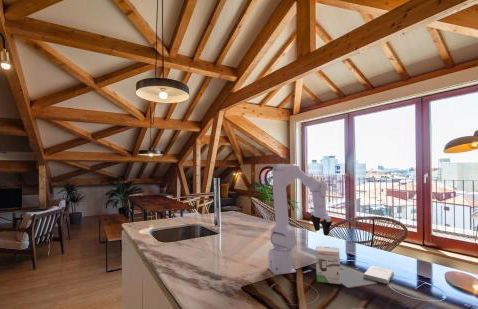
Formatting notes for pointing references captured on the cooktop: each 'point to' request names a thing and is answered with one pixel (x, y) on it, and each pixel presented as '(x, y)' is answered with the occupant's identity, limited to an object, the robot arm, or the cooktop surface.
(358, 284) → the mat
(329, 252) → the ink box
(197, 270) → the cooktop surface
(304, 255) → the cooktop surface
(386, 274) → the external hard drive
